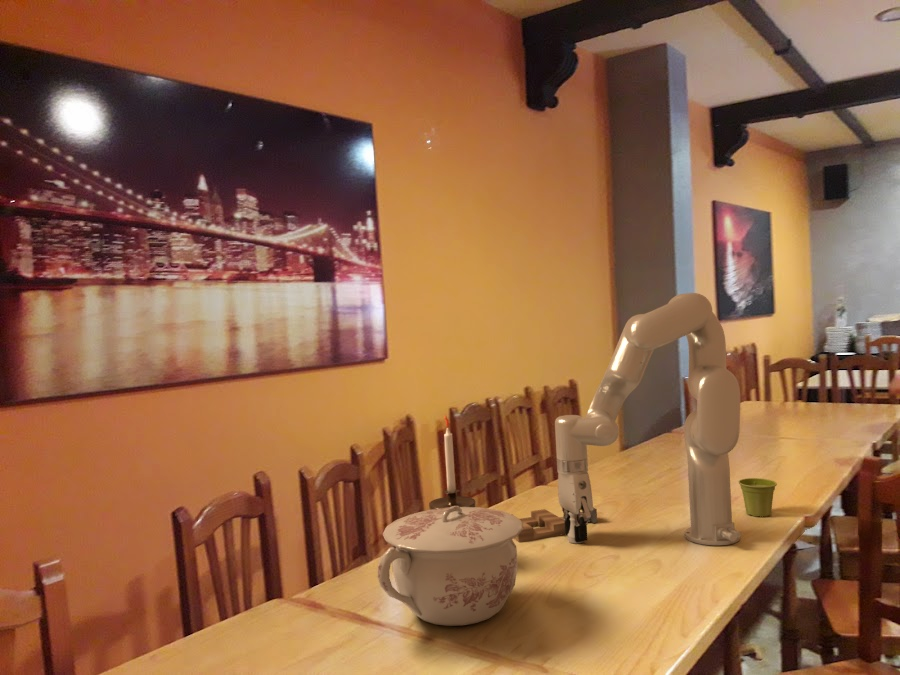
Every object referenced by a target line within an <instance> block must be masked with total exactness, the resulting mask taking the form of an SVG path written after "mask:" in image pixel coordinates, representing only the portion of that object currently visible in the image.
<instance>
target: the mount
mask: <svg viewBox="0 0 900 675" xmlns="http://www.w3.org/2000/svg"><path fill="white" fill-rule="evenodd" d="M511 514H512V513H511ZM512 515H514V514H512ZM560 517H561V516H558V515H556V514H554V513H553V512H551V511H548V509H545V508H543V509H537V510H531V511H530V517H529V516H528V517H522V518H519V517H517V518H518V519H519V520H521V521H522V523H523V530H522V531H521V532H520V533H519V534H518V536H517V537H515V538H514V540H515V541H516V542H518V543H523V542H528V541H534V540H541V539H546V538H552V537H559V536H566V535H565V521H564V520H563V519H561V518H560ZM533 526H535V527H533ZM542 526H543V527H542Z"/></svg>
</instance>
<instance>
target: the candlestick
mask: <svg viewBox="0 0 900 675" xmlns="http://www.w3.org/2000/svg"><path fill="white" fill-rule="evenodd" d="M444 420H445V427H446V430H445V433H444V434H443V436H444V454H445V467H446V468H445V469H446V485H447V489H446V490H443V491H442V492H443V493H444V494H447V496H444V497H439V498H435V499H433V500H431V501H430V502H429V503H428V507H429V508H428V510H431V509H439V508H447V507H452V506H459V507H476V506H477V504H476V503H477V502H476V499H474V498H472V497H468V496H461V495H460V496H459V495H457V493H459V492H461V490H460V489H457V488H456V476H455V458H454V457H455V456H454V443H453V433H451V431H450V420H449V419H448V418H447V414H445V416H444Z"/></svg>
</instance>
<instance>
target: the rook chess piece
mask: <svg viewBox="0 0 900 675" xmlns="http://www.w3.org/2000/svg"><path fill="white" fill-rule="evenodd" d="M579 512H581V510H579ZM568 514H569V515H570V522H571V524H570V531H569V533H568V535H567V536H566V537H567V541H568V543H570V544H574V545H577V544H578V545H579V544H583V543H584V542H585V541H582V542H575V534H574V526H576V524H575V518H574V513H572V512H570V511H569V513H568ZM578 517H579V519H580V515H579V516H578Z"/></svg>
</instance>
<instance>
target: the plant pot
mask: <svg viewBox="0 0 900 675" xmlns="http://www.w3.org/2000/svg"><path fill="white" fill-rule="evenodd" d="M737 483H738V484H739V485H740V489H741V491H742V496H743V497H742V498H743V503H744V508H745V514H747V516H750V515H751V516H753V517H755V516H760V517H759V518H764V517H763V516H766V517H768V516H769V515H770V516H772V510H773V509H772V508H773V501H774V500H773V499H774V491H775V490H776V487H777V485H778V483H777V482H776V481H775V480H772V479H767V478H758V477H757V478H756V477H748V478H742V479H739V480H738V482H737ZM761 516H762V517H761Z"/></svg>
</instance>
